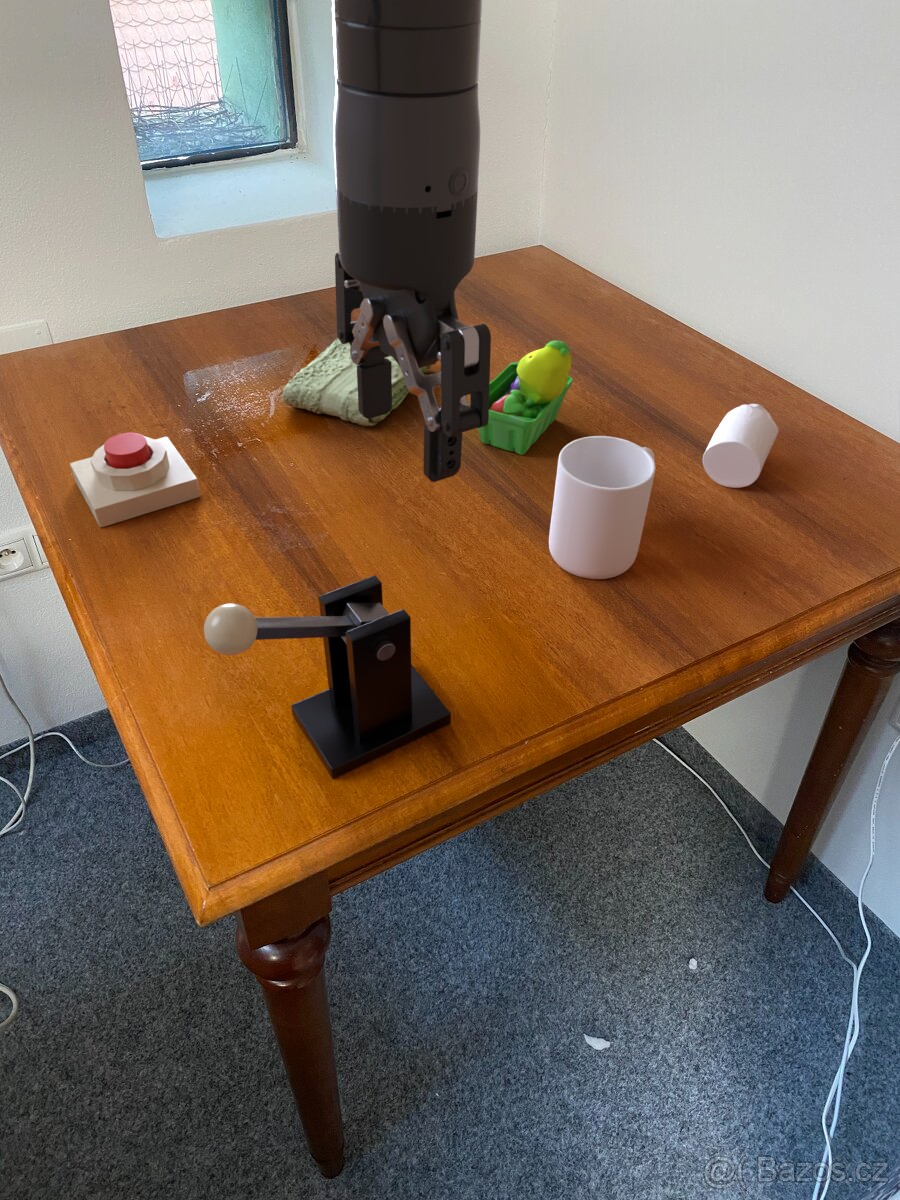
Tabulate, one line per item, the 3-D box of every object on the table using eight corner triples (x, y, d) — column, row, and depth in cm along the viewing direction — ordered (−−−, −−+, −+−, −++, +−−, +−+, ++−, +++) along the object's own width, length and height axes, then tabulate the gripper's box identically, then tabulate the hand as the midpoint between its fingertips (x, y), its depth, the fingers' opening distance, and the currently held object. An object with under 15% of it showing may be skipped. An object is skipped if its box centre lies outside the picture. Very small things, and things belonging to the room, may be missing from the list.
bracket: (332, 779, 63) (319, 667, 55) (291, 715, 67) (273, 601, 59) (451, 723, 67) (454, 611, 59) (405, 665, 71) (402, 553, 63)
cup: (529, 551, 82) (539, 460, 75) (607, 499, 88) (622, 410, 82) (599, 594, 78) (616, 501, 71) (676, 536, 84) (698, 446, 77)
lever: (209, 667, 52) (223, 624, 51) (190, 635, 54) (203, 592, 53) (385, 657, 61) (401, 620, 59) (363, 629, 63) (378, 593, 61)
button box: (100, 528, 83) (89, 493, 81) (75, 481, 89) (64, 447, 86) (201, 496, 87) (194, 463, 85) (171, 453, 93) (163, 420, 90)
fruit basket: (510, 399, 103) (517, 306, 95) (580, 419, 100) (593, 325, 92) (465, 445, 95) (468, 349, 88) (539, 468, 92) (550, 370, 85)
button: (114, 474, 84) (110, 459, 82) (103, 454, 86) (98, 439, 85) (156, 462, 85) (152, 447, 84) (143, 443, 88) (139, 428, 87)
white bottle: (778, 439, 97) (792, 394, 94) (753, 495, 89) (768, 448, 86) (724, 425, 99) (736, 380, 95) (696, 478, 91) (708, 432, 88)
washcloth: (441, 366, 108) (441, 342, 106) (375, 436, 96) (374, 410, 94) (348, 345, 112) (346, 321, 110) (273, 409, 100) (270, 384, 98)
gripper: (285, 151, 49) (307, 409, 60) (413, 232, 40) (412, 518, 51) (401, 136, 52) (402, 384, 63) (545, 208, 43) (517, 482, 54)
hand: (407, 443), depth 57 cm, fingers open, 8 cm apart
